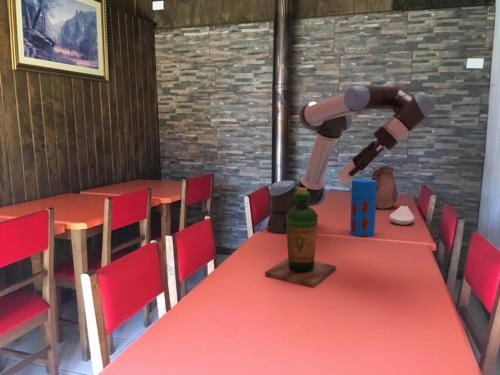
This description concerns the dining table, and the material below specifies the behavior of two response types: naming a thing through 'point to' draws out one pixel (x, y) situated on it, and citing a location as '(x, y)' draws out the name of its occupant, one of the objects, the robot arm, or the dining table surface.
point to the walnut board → (301, 273)
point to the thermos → (363, 207)
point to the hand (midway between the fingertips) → (340, 178)
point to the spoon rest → (402, 216)
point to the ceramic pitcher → (384, 186)
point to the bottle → (301, 233)
